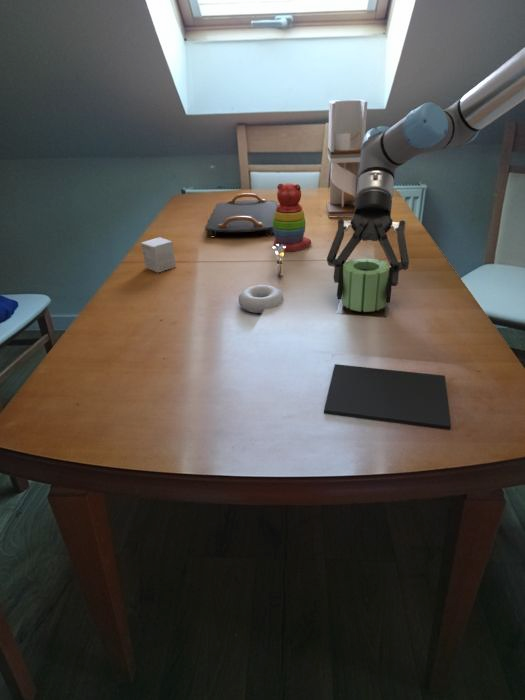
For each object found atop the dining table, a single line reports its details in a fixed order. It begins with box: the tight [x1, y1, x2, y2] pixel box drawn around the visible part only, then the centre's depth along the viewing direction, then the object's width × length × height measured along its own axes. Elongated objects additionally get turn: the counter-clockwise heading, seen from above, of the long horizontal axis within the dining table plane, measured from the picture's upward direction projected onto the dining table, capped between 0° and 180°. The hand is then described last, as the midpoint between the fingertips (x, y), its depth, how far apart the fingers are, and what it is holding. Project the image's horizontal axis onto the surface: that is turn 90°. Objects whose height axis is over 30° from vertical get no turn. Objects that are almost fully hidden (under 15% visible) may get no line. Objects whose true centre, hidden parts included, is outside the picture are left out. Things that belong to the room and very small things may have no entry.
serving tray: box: [204, 192, 279, 237], centre depth 159 cm, size 39×23×6 cm, turn 178°
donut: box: [238, 284, 284, 314], centre depth 102 cm, size 10×4×10 cm
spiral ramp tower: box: [325, 99, 368, 216], centre depth 156 cm, size 11×11×35 cm
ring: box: [272, 243, 285, 276], centre depth 116 cm, size 7×3×8 cm, turn 175°
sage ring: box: [342, 257, 391, 312], centre depth 95 cm, size 9×9×8 cm
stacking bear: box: [272, 183, 312, 253], centre depth 132 cm, size 11×10×18 cm
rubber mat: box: [323, 363, 452, 430], centre depth 73 cm, size 18×13×1 cm
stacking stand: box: [336, 269, 389, 319], centre depth 96 cm, size 10×10×9 cm
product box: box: [140, 236, 177, 274], centre depth 124 cm, size 6×6×7 cm
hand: (363, 298), depth 94 cm, fingers closed on sage ring, 9 cm apart
